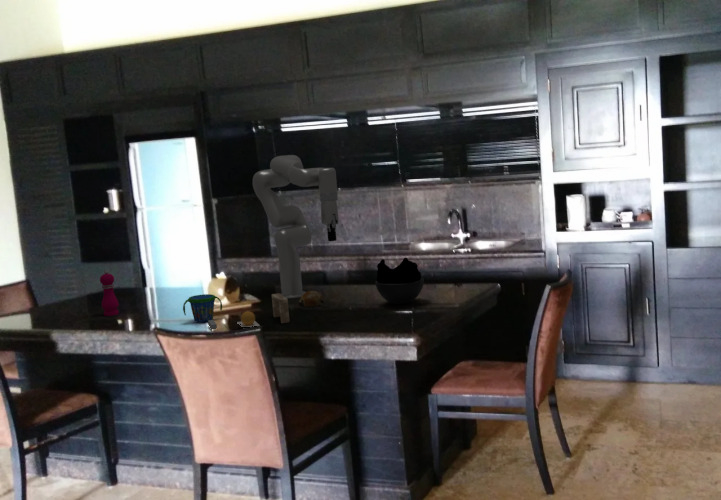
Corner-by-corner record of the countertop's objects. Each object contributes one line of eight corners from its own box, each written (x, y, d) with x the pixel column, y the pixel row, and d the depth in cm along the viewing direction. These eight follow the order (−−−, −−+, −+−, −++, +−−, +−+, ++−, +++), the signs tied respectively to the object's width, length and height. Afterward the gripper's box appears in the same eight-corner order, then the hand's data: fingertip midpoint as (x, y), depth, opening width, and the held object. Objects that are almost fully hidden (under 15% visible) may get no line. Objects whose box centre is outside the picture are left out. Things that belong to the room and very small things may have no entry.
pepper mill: (123, 312, 341) (117, 268, 338) (113, 316, 334) (107, 271, 332) (109, 312, 344) (104, 268, 341) (99, 316, 337) (93, 271, 334)
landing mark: (223, 324, 302) (223, 324, 302) (253, 320, 306) (253, 319, 306) (229, 330, 290) (228, 330, 290) (259, 325, 294) (259, 325, 294)
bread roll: (316, 315, 322) (323, 298, 320) (294, 306, 323) (301, 289, 322) (322, 310, 332) (328, 293, 330) (301, 301, 333) (307, 284, 331)
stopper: (208, 326, 300) (207, 320, 299) (213, 326, 300) (212, 319, 300) (212, 331, 291) (211, 325, 291) (217, 330, 292) (216, 324, 292)
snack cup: (222, 316, 318) (220, 292, 316) (224, 321, 308) (221, 296, 306) (184, 320, 314) (181, 296, 313) (184, 326, 304) (181, 301, 303)
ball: (238, 312, 298) (251, 308, 300) (241, 326, 299) (255, 322, 300) (240, 314, 293) (254, 310, 295) (244, 328, 294) (257, 323, 295)
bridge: (282, 323, 296) (280, 300, 295) (273, 316, 309) (271, 294, 308) (289, 322, 297) (287, 299, 296) (280, 315, 310) (278, 293, 309)
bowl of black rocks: (435, 300, 316) (432, 256, 313) (404, 310, 302) (401, 264, 299) (398, 296, 330) (395, 254, 327) (367, 306, 315) (363, 261, 313)
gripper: (315, 197, 325) (318, 240, 327) (325, 199, 311) (329, 243, 313) (331, 196, 327) (335, 238, 330) (342, 197, 313) (346, 241, 316)
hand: (332, 240), depth 322 cm, fingers closed
